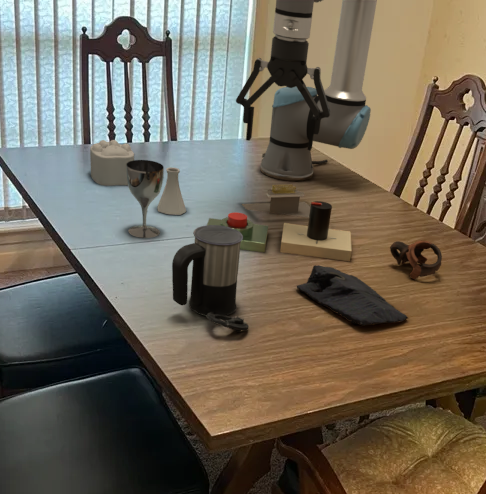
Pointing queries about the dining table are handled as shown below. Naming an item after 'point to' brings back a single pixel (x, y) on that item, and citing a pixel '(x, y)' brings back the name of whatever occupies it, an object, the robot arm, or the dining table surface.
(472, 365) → the dining table surface
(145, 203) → the wine glass
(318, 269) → the black cloth
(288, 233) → the timer panel
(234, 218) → the button
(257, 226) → the button housing
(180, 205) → the flask
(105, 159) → the lumpy-topped squat cylinder
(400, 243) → the coiled brown leather belt
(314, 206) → the dial
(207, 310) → the milk frother
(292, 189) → the platform
